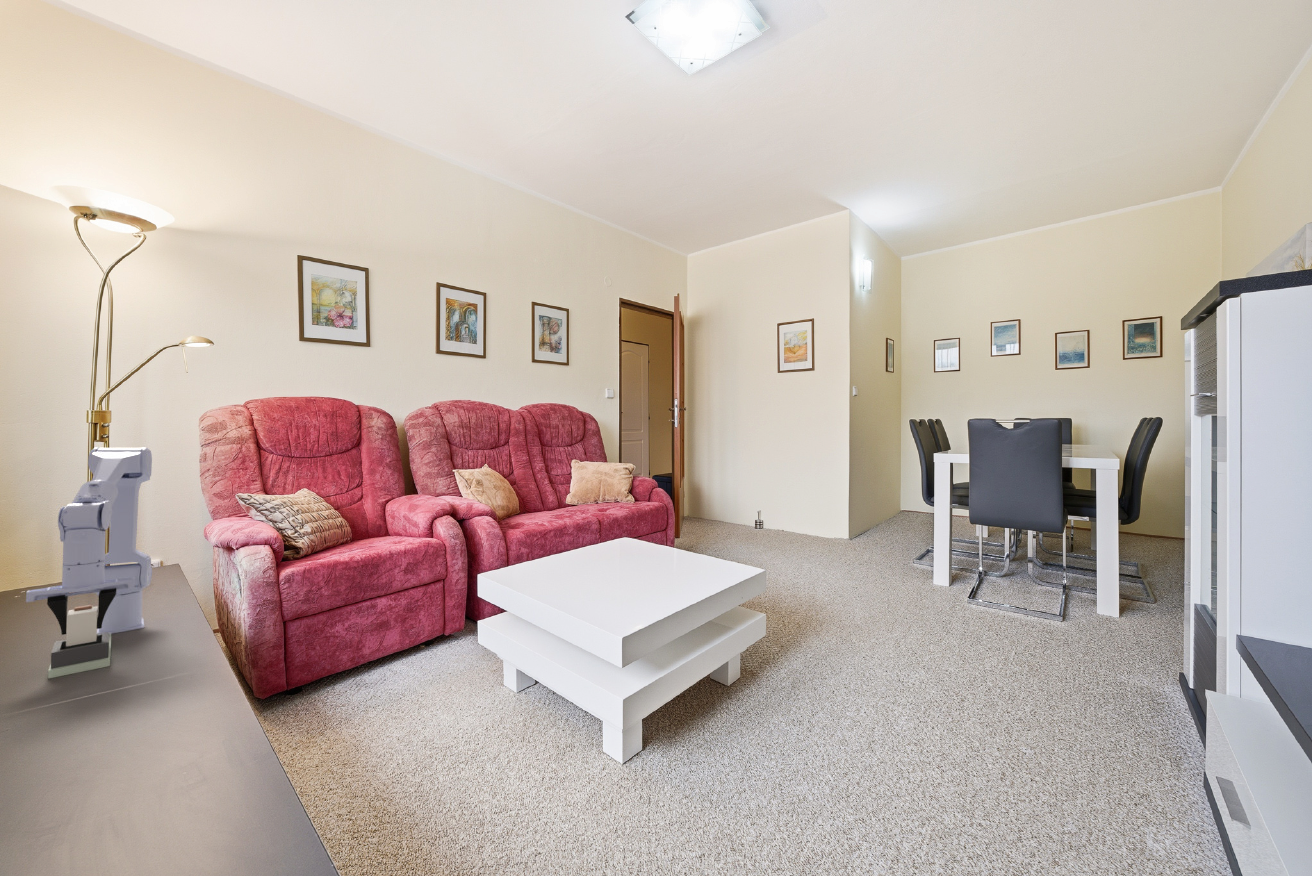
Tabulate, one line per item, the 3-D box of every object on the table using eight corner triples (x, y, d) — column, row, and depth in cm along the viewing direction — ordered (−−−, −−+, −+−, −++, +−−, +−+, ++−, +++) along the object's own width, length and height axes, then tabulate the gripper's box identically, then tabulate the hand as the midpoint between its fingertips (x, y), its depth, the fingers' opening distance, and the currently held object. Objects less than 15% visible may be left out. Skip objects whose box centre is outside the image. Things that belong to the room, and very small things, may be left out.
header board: (57, 650, 111) (57, 629, 111) (111, 640, 117) (111, 620, 117) (48, 678, 97) (48, 654, 97) (109, 665, 103) (110, 643, 103)
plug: (67, 640, 104) (68, 607, 104) (96, 635, 107) (97, 603, 107) (65, 646, 101) (66, 612, 101) (96, 641, 104) (97, 608, 104)
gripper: (25, 571, 96) (22, 645, 96) (135, 559, 107) (133, 626, 106) (29, 565, 101) (27, 635, 101) (134, 555, 111) (133, 618, 111)
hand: (82, 630), depth 104 cm, fingers closed on plug, 4 cm apart
